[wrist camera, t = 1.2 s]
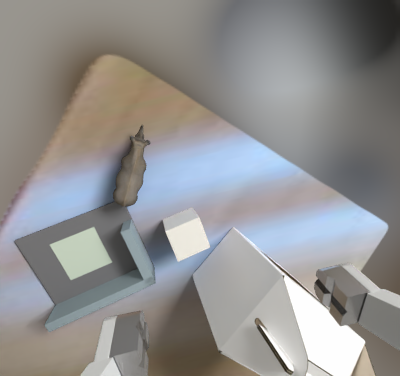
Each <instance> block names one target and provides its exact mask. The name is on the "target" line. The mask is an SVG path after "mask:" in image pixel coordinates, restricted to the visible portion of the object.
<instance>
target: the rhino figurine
mask: <svg viewBox="0 0 400 376" xmlns="http://www.w3.org/2000/svg"><path fill="white" fill-rule="evenodd" d="M130 140H131V141H132V145H131V150H130V152H129V154H128V155H127V156H125V157H123V158H122V160H121V165H122V166H121V169H120V171H119V172H118V174H117V177H116V189H115V190H114V192H113V199H114V201H115V202H116V203H117V204H119V205H121V206H122V207H124V206H126V207H127V206H131V205H133V204H135V203H136V201H137V197H138V196H137V193H138V191H139V189H140V188H141V186H142V184H143V174H144V172H145V170H146V163H145V160H144V159H143V152H144V147H145V146H147V145H149V144H150V141H148V140H146V141H145V140H144V135H143V125H141V127H140V130H139V131H138V133H137V134H136V135H135V137H133V136H131V137H130Z"/></svg>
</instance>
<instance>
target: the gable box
mask: <svg viewBox="0 0 400 376" xmlns="http://www.w3.org/2000/svg"><path fill="white" fill-rule="evenodd" d="M193 280H194V282H195V285H196V288H197V291H198V294H199V297H200V300H201V302H202V305H203V308H204V311H205V314H206V317H207V319H208V322H209V325H210V328H211V331H212V334H213V336H214V339H215V342H216V345H217V348H218V351H219V353H221V354H223V355H225V356H227V357H228V358H230V359H232V360H234V361H236V362H237V363H239V364H241V365H243V366H245V367H246V368H248V369H250V370H252V371H254V372H255V373H257V374H259V375H261V376H376V374H375V372H374V369H373V365H372V363H371V360H370V357H369V354H368V351H367V348H366V345H365V341H364V340H363V339H362V338H361V337H360V336H359V335H358V334H357V333H356V332H354V331H353V330H352V329H351V328H350V327H349V326H348V325H345V326H339V324H338V323H337V322H336V321H335V319H334V318H333V317H332V316H331V314H330V313H329V308H328V307H327V306H325V305H324V304H322V303H321V302H320V300H319V299H318V298H317V297H316V296H314V295H313V294H312V293H311V292H310V291H309V290H308V289H307V288H306V287H304V286H303V285H302V284H301V283H300V282H299V281H298V280H297V279H296V278H294V277H293V276H292V275H291V274H290V273H288V272H287V271H286V270H285V269H284V268H282V267H281V266H280V265H279V264H278V263H276V262H275V261H274V260H273V259H271V258H270V257H269V256H268V255H267V254H265V253H264V252H263V251H262V250H261V249H259V248H258V247H257V246H256V245H255V244H253V243H252V242H251V241H250V240H249V239H247V238H246V237H245V236H244V235H243V234H241V233H240V232H239V231H238V230H237V229H235V228H234V227H233V228H232V229H231V230H230V231H229V232H228V234H227V235H226V236H225V237H224V238H223V240H222V241H221V242H220V243H219V244H218V245H217V247H216V248H215V249H214V250H213V251H212V253H211V254H210V255H209V256H208V257H207V258H206V260H205V261H204V262H203V263H202V264H201V266H200V267H199V268H198V269H197V270H196V271H195V273H194V274H193Z"/></svg>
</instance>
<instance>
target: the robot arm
mask: <svg viewBox="0 0 400 376" xmlns="http://www.w3.org/2000/svg"><path fill="white" fill-rule="evenodd" d="M316 276H317V278H318V279H317V280H316V282H315V284H314V289H315V293H316V295H317V297H318V299H319V300H320V302H321V303H322V304H324V305H325V306H327V307H329V313H330V314H331V316H332V317H333V318H334V319H335V321H336V322H337V323H338V324H339V326H345V325H349V324H353V323H358V324H360V325H361V326H363V327H364V328H366V329H367V330H369V331H370V332H372V333H373V334H375V335H377V336H378V337H380V338H381V339H383V340H384V341H386V342H387V343H389V344H390V345H392V346H393V347H395V348H396V349H398V350H399V351H400V296H399V295H397V294H394V293H392V292H390V291H387V290H385V289H382V290H381V289H380V288H378V287H377V286H376V285H375V284H374V283H373V282H372V281H370V280H369V279H368V278H367V277H366V276H364V275H363V274H362V273H361V272H360V271H359V270H358V269H357V268H356V267H354V266H353V265H352V264H350V263H344V264H340V265H335V266H331V267H327V268H322V269H318V271H317V272H316ZM148 348H149V332H148V326H147V323H146V322H145V321H144V313H143V311H137V312H132V313H127V314H122V315H117V316H112V317H108V318H105V320H104V321H103V324H102V328H101V333H100V337H99V341H98V345H97V349H96V354H95V358H94V362H91V363H89V364H88V366H87V367H86V368H85V370H84V371H83V372H82V374H81V375H80V376H148V356H147V353H146V351H147V349H148Z"/></svg>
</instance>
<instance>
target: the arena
mask: <svg viewBox="0 0 400 376" xmlns="http://www.w3.org/2000/svg"><path fill="white" fill-rule="evenodd" d="M15 243H16V244H17V246H18V247H19V249H20V250H21V252H22V254H23V255H24V257H25V258H26V260H27V261H28V263H29V264H30V266H31V267H32V269H33V270H34V272H35V274H36V275H37V277H38V278H39V280H40V281H41V283H42V284H43V286H44V287H45V289H46V291H47V292H48V294H49V295H50V297H51V298H52V300H53V301H54V303H55V304H56V305H55V307H54V309H53V311H52V312H51V314H50V316H49V318H48V320H47V321H46V323H45V327H46V328H47V330H48V331H49V332H51V331H53V330H55V329H57V328H59V327H61V326H64V325H66V324H68V323H70V322H72V321H75V320H77V319H79V318H81V317H83V316H85V315H88V314H90V313H92V312H94V311H96V310H98V309H101V308H103V307H105V306H107V305H109V304H111V303H114V302H116V301H118V300H120V299H122V298H125V297H127V296H129V295H131V294H133V293H135V292H138V291H140V290H142V289H144V288H146V287H148V286H151V285H153V284H155V283H156V282H155V268H154V266H153V263H152V261H151V259H150V257H149V255H148V253H147V250H146V248H145V246H144V244H143V242H142V240H141V238H140V235H139V233H138V231H137V229H136V227H135V225H134V222H133V220H132V218H131V216H130V214H129V212H128V210H127V207H126V206H124V207H122V206H121V205H119V204H117V203H116V202H112V203H110V204H107V205H105V206H102V207H99V208H97V209H94V210H92V211H89V212H87V213H84V214H81V215H79V216H76V217H74V218H71V219H68V220H66V221H63V222H61V223H58V224H56V225H53V226H50V227H48V228H45V229H43V230H40V231H38V232H35V233H32V234H30V235H27V236H25V237H22V238H20V239H17V240H15Z"/></svg>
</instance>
